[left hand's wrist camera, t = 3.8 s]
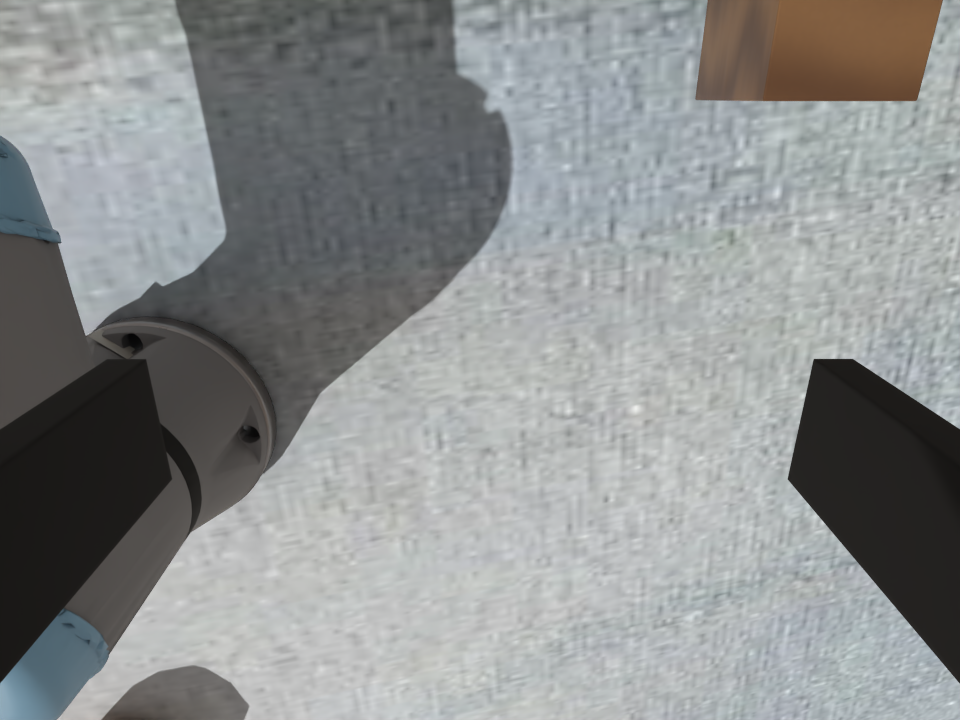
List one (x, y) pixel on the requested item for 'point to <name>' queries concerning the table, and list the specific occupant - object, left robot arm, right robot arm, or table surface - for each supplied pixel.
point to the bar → (815, 49)
